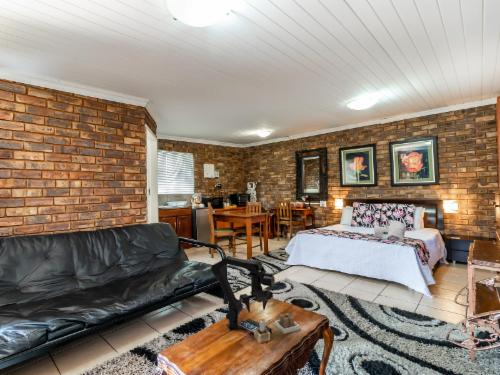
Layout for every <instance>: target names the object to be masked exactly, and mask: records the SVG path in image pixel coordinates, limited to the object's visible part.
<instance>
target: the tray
mask: <svg viewBox="0 0 500 375" xmlns="http://www.w3.org/2000/svg"><path fill="white" fill-rule="evenodd" d="M274 326H275V327H276V328H277V329H278V330H279V332H281V333H282V334H283V335H286V334H291V333H293V332H297V331H300V325H299V324H298V323H297V322H296V321H295V320H294V326H293V327H289V328H285V329H284V328H283V327H282V326H281V325H280V319H278V320H275V321H274Z"/></svg>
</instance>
